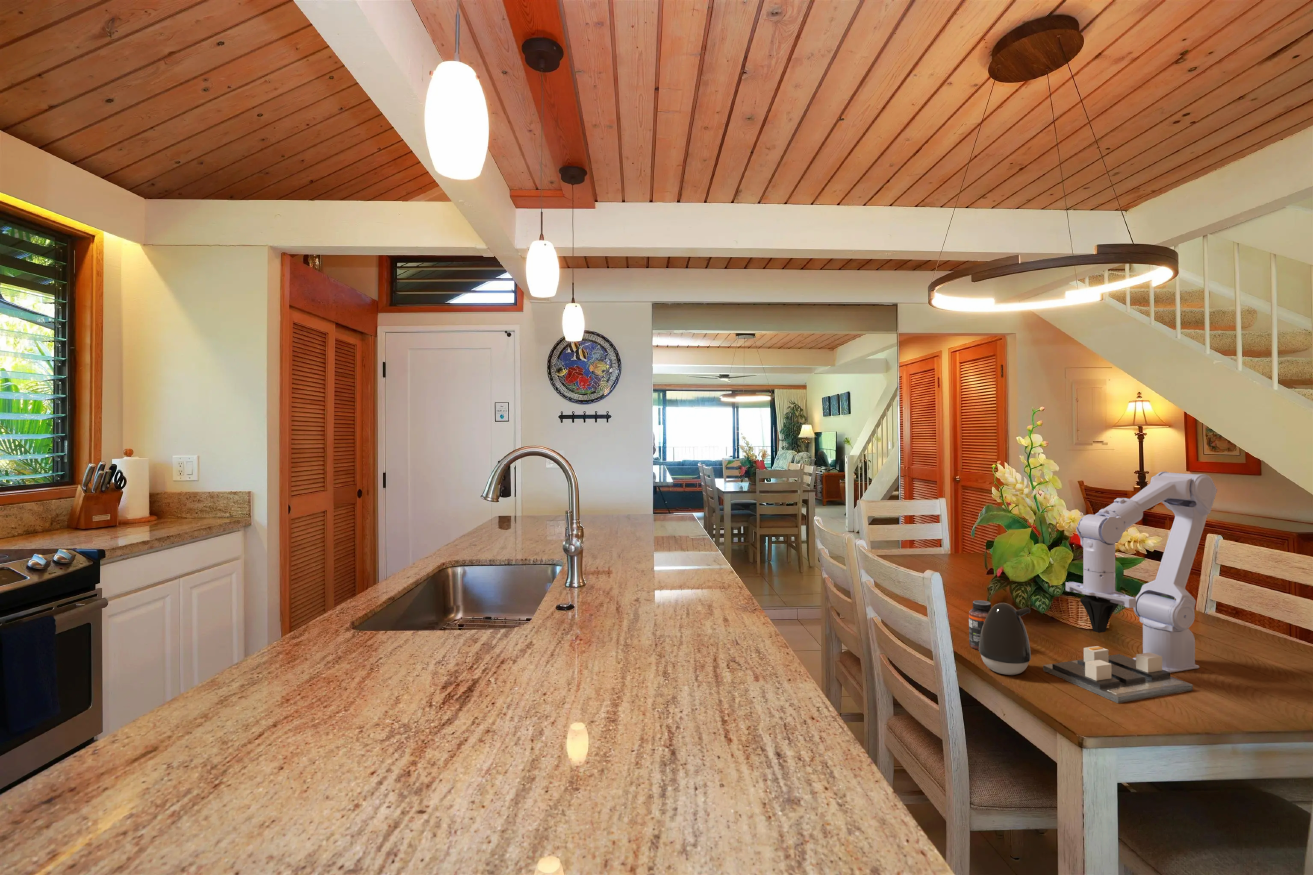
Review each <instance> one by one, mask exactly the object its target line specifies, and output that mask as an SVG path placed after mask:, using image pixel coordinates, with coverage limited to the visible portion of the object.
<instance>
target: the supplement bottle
mask: <svg viewBox="0 0 1313 875" xmlns="http://www.w3.org/2000/svg"><path fill="white" fill-rule="evenodd" d="M991 608H992V603H991V602H990V601H988V600H980V599H979V600H977V599H976V600H973V601H972V608H971V609H970V610H969V611H968V637H969V638H968V641H969V643H968V644H969V646H970V648H972V649H974V650H978V651H979V641H980V635H981V630H982V627H983V624H984V621H985V619H986V616H987V614H988V613H989V611H990V609H991Z"/></svg>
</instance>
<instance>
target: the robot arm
mask: <svg viewBox="0 0 1313 875" xmlns="http://www.w3.org/2000/svg"><path fill="white" fill-rule="evenodd" d="M1213 480H1214V479H1213V478H1212V477H1211V476H1210V475H1208V474H1205V473H1200V474H1199V473H1198V474H1197V473H1196V474H1195V473H1181V472H1179V473H1178V472H1169V471H1159V472H1158V473H1157V474H1155V475H1154V476H1151V478H1150V483H1148V484H1147V485H1146V486H1145V487H1143V488H1142V489H1141V490H1139V491H1138V492H1137V493H1136V494H1134V495H1133V496H1132V497H1130V498H1126V497H1117V498H1116V499H1114V500H1113V502H1112V503H1111V504H1109V505H1108V506H1106V507H1104V508H1101V509H1100V510H1099V511H1098V512H1097V513H1095V514H1092V513H1091V514H1086V515H1084V516H1082V517H1081V518H1080V519H1079V521H1078V523H1077V526H1076V527H1075V530H1076V533H1077V535H1078V537H1079V539H1080V546H1081V547H1082V550H1083V552H1082V553H1083V554H1082V556H1083V558H1082V560H1083V561H1082V564H1083V565H1082V566H1083V567H1082V568H1083V570H1082V571H1083V572H1082V573H1083V577H1082V578H1083V580H1082V582H1083V583H1080V582H1075V581H1068V582H1067V581H1065V591H1067V592H1069V593H1070V592H1073V593H1077V594H1080V595H1083V597H1081V598H1079V600H1080V603H1081V604H1082V607H1083V608H1084V609H1085V611H1086V613H1087V616H1088V618H1089V622H1090V624H1091V628H1092V631H1093V632H1096V633H1098V634H1100V633H1101V634H1102V633H1105V632H1106V630H1107V628H1108V624H1109V622H1110V619H1111V617H1112V615H1113V613H1114V612H1115V611H1116V609H1117V607H1119V605H1120V606H1124V608H1127V609H1133V612H1134V614H1135V615H1136V616H1137V617H1138V618H1139V622H1140V623H1141V624H1142V653H1149V652H1151V653H1154V654H1156V655H1159V656H1162V670H1165V671H1168V672H1170V673H1175V672H1182V671H1189V670H1195V669H1199V668H1200V665H1198V664H1196V638H1195V635H1194V633H1193V632H1192V631H1191V630H1190V627H1191V626H1192V625H1193V624H1194V621H1195V620H1196V618H1195V617H1196V615H1195V608H1196V602H1197V601H1196V599H1195V598H1194V596H1192V594H1191V593H1190V592H1189V591H1188V590H1187V589H1186V586H1187V583H1188V580H1189V577H1190V574H1191V571H1192V570H1191V569H1192V567H1193V564H1194V560H1195V557H1196V555H1197V550H1198V548H1199V544H1200V541H1201V537H1202V534H1203V531H1204V529H1205V525H1206V521H1207V519H1208V515H1210V514H1211V512H1212V509H1213V506H1214V505H1213V504H1214V502H1215V498H1216V495H1217V492H1218V488H1217V487H1216V485H1215V483H1214V481H1213ZM1159 503H1162V504H1163V505H1164V506H1165V508H1166V509H1168V510H1170V511H1172V513H1173V514H1174V519H1173V523H1172V526H1171V529H1170V533H1169V534H1168V539H1167V542H1166V544H1165V548H1164V550H1163V553H1162V557H1161V560H1160V564H1159V567H1158V570H1157V574H1156V576H1155V579H1154V580H1152V581H1149V582H1147V583H1144V584H1142V585H1141V587H1140V591H1139V592H1138V594H1137V595H1136V596H1135V597H1133V596H1129V595H1128V594H1125V593H1122V592H1120V591H1117V590H1116V544H1117V543H1119V542H1120V541H1121V539H1122V537H1123V534H1124V533H1125V532H1126V530H1127V529H1128V528H1130V527H1131V526H1133V525H1134V524H1136V523H1138V522H1139V521H1141V520H1142V519H1143V517H1144V512H1145V511H1147V510H1148V509H1150V508H1152V507H1154V506H1156V505H1158V504H1159ZM1132 659H1134V660H1136V657H1133V658H1132Z"/></svg>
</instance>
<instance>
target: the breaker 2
mask: <svg viewBox="0 0 1313 875" xmlns="http://www.w3.org/2000/svg"><path fill="white" fill-rule="evenodd" d="M1135 658H1136V668H1137V669H1140V670H1142V671H1145V672H1148V673H1149V672H1155V671H1162V656H1159V655H1156V654H1154V653H1151V652H1149V653H1143V652H1142V653H1137V654H1135Z"/></svg>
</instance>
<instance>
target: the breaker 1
mask: <svg viewBox="0 0 1313 875" xmlns="http://www.w3.org/2000/svg"><path fill="white" fill-rule="evenodd" d="M1085 676H1086V677H1089V678H1091V679H1093V680H1096V681H1098V680H1105V679H1111V664H1110V663H1107V662H1105V661H1102V660H1095V661H1088V662H1085Z"/></svg>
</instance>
